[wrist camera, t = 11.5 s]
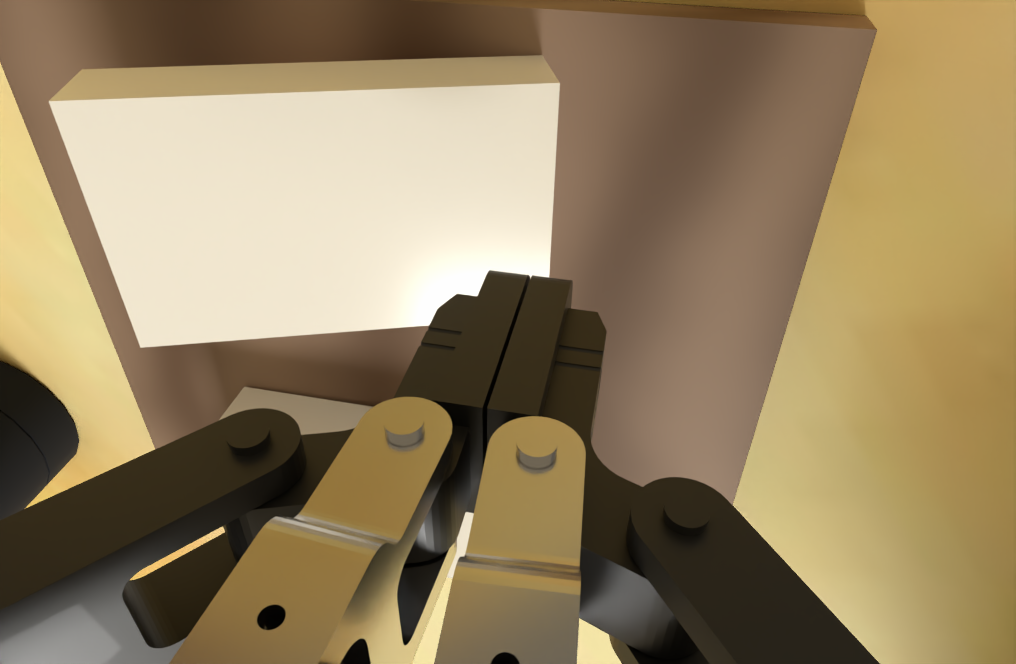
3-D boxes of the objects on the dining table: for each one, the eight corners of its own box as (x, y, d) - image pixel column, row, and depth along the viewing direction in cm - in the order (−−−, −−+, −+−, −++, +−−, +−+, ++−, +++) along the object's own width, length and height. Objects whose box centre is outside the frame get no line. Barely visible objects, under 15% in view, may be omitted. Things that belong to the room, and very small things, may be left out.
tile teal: (511, 474, 22) (214, 425, 24) (508, 589, 26) (251, 539, 27) (523, 428, 24) (245, 384, 25) (519, 541, 27) (276, 497, 29)
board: (866, 16, 16) (877, 29, 15) (705, 565, 28) (705, 591, 27) (0, -37, 19) (-36, -28, 18) (189, 472, 31) (173, 493, 30)
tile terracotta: (559, 82, 15) (48, 101, 14) (546, 316, 19) (140, 347, 17) (541, 54, 17) (83, 68, 15) (532, 273, 20) (160, 299, 19)
